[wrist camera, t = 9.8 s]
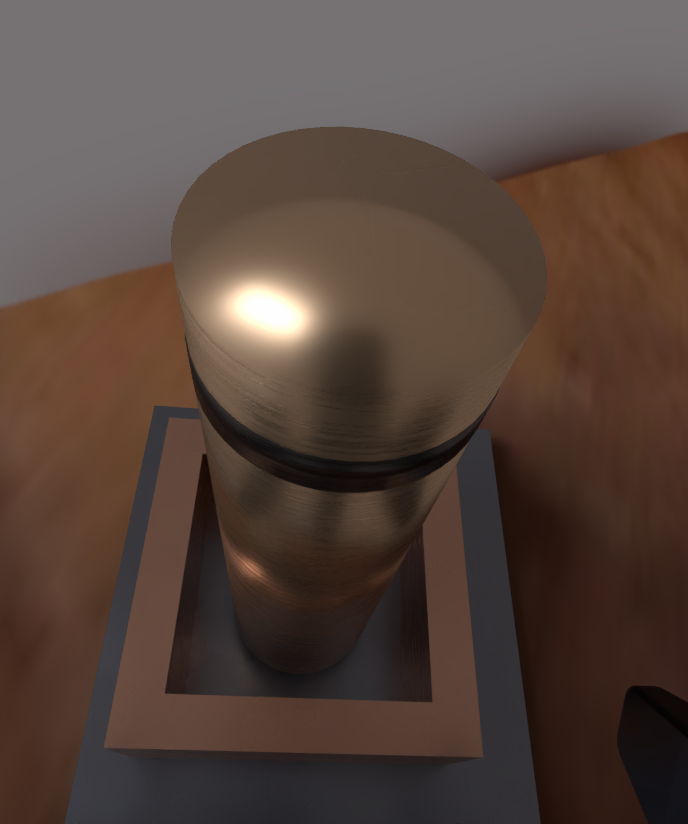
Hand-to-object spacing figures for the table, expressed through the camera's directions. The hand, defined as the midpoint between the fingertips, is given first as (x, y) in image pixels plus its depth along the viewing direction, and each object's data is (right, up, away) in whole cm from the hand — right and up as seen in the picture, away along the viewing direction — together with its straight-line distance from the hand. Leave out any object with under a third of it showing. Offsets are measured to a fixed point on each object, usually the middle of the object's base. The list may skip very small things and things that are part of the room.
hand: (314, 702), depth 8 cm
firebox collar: (-1, -2, +9) cm, 9 cm away
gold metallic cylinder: (-1, -1, +8) cm, 8 cm away
